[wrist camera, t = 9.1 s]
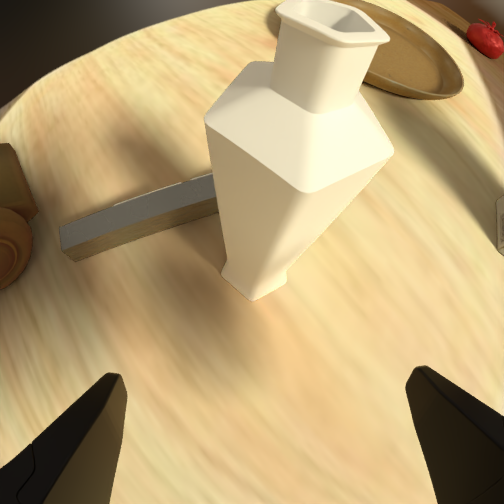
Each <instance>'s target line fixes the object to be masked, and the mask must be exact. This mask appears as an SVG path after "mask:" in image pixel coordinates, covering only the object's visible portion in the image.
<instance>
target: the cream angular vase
mask: <svg viewBox="0 0 504 504" xmlns="http://www.w3.org/2000/svg"><path fill="white" fill-rule="evenodd" d="M275 12H276V13H277V15H278V16H279V17H280V18H281V25H280V31H279V36H278V42H277V47H276V53H275V58H274V62H262V61H254V62H251V63H249V64H248V65H247V66H246V67H245V68H244V69H243V70H242V71H241V73H240V74H239V75H238V76H237V77H236V78H235V79H234V81H233V82H232V83H231V84H230V85H229V86H228V88H227V89H226V90H225V91H224V92H223V93H222V95H221V96H220V97H219V98H218V99H217V101H216V102H215V103H214V104H213V106H212V107H211V108H210V109H209V110H208V112H207V113H206V115H205V117H204V122H205V128H206V135H207V141H208V148H209V154H210V161H211V167H212V173H213V179H214V185H215V191H216V197H217V203H218V209H219V215H220V221H221V226H222V232H223V238H224V243H225V249H226V255H227V261H226V263H225V265H224V267H223V269H222V271H221V275H222V277H223V278H224V279H225V280H226V281H228V282H229V283H230V284H231V285H232V286H233V287H234V288H236V289H237V290H238V291H239V292H240V293H241V294H242V295H244V296H245V297H246V298H247V299H248V300H250V301H256V300H258V299H259V298H261V297H263V296H264V295H266V294H268V293H270V292H271V291H273V290H275V289H277V288H278V287H280V286H282V285H283V284H285V283H286V281H287V277H286V270H287V269H288V268H289V267H290V266H291V265H292V264H293V263H294V262H295V261H296V260H297V259H298V258H299V257H300V256H301V255H302V254H303V253H304V252H305V251H306V249H307V248H308V247H309V246H310V245H311V244H312V243H313V242H314V241H315V240H316V239H317V238H318V237H319V236H320V235H321V234H322V233H323V231H324V230H325V229H326V228H327V227H328V226H329V225H330V224H331V223H332V222H333V221H334V220H335V219H336V217H337V216H338V215H339V214H340V213H341V212H342V211H343V210H344V209H345V208H346V207H347V206H348V204H349V203H350V202H351V201H352V200H353V199H354V198H355V197H356V196H357V195H358V193H359V192H360V191H361V190H362V189H363V188H364V187H365V186H366V185H367V183H368V182H369V181H370V180H371V179H372V178H373V177H374V176H375V174H376V173H377V172H378V171H379V170H380V169H381V168H382V167H383V165H384V164H385V163H386V162H387V161H388V160H389V159H390V157H391V156H392V155H393V154H394V148H393V146H392V144H391V142H390V140H389V138H388V137H387V135H386V133H385V132H384V130H383V128H382V126H381V125H380V123H379V121H378V120H377V118H376V116H375V115H374V113H373V112H372V110H371V108H370V107H369V105H368V104H367V102H366V101H365V99H364V98H363V96H362V95H361V93H360V92H359V88H360V86H361V84H362V81H363V79H364V77H365V75H366V72H367V70H368V68H369V66H370V63H371V61H372V59H373V57H374V54H375V52H376V50H377V47H378V45H381V44H384V43H387V42H389V41H390V37H389V35H388V34H387V33H386V32H385V31H384V30H383V29H382V28H381V27H380V26H379V25H377V24H376V23H375V22H374V21H373V20H372V19H371V18H370V17H369V16H368V15H366V14H365V13H364V12H363V11H361V10H359V9H357V8H355V7H352V6H349V5H346V4H342V3H338V2H334V1H330V0H285V1H284V2H283V3H281V4H280V5H279V6H277V7H276V9H275Z"/></svg>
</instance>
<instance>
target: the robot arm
mask: <svg viewBox="0 0 504 504" xmlns="http://www.w3.org/2000/svg"><path fill="white" fill-rule="evenodd" d="M405 389H406V394H407V398H408V402H409V406H410V410H411V414H412V419H413V423H414V427H415V430H416V433H417V436H418V439H419V442H420V445H421V448H422V451H423V454H424V458H425V461H426V464H427V467H428V471H429V474H430V477H431V481H432V484H433V488H434V492H435V495H436V499H437V503H438V504H504V416H502V415H501V414H499V413H498V412H496V411H495V410H493V409H492V408H490V407H489V406H487V405H486V404H484V403H483V402H481V401H480V400H478V399H477V398H475V397H474V396H472V395H471V394H469V393H468V392H466V391H465V390H463V389H461V388H460V387H458V386H457V385H455V384H454V383H452V382H451V381H449V380H448V379H446V378H445V377H443V376H442V375H440V374H439V373H437V372H436V371H434V370H433V369H431V368H430V367H428V366H425V365H424V366H418V367H415V368H414V370H413V371H412V373H411V375H410V377H409V379H408V381H407V383H406V387H405ZM126 404H127V391H126V388H125V385H124V382H123V379H122V376H121V375H120V374H117V373H110V372H108V373H106V374H105V375H104V376H103V377H101V378H100V379H99V380H98V381H97V382H96V383H95V384H94V385H93V386H92V387H91V388H89V389H88V390H87V391H86V392H85V393H84V394H83V395H82V396H81V397H80V398H79V399H78V400H76V401H75V402H74V403H73V404H72V405H71V406H70V407H69V408H68V409H67V410H66V411H65V412H63V413H62V414H61V415H60V416H59V417H58V418H57V419H56V420H55V421H54V422H53V423H52V424H51V425H49V426H48V427H47V428H46V429H45V430H44V431H43V432H42V433H41V434H40V435H39V436H38V437H37V438H35V439H34V440H33V441H32V444H29V445H28V446H27V447H26V448H25V449H24V450H23V451H21V452H20V453H19V454H18V455H17V456H16V457H15V458H13V459H12V460H11V461H10V462H8V463H7V464H6V465H5V466H3V467H2V468H1V469H0V504H109V503H110V497H111V492H112V487H113V482H114V477H115V472H116V467H117V463H118V458H119V454H120V449H121V444H122V438H123V429H124V420H125V412H126Z"/></svg>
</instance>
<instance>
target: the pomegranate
mask: <svg viewBox="0 0 504 504" xmlns="http://www.w3.org/2000/svg"><path fill="white" fill-rule="evenodd" d="M481 21H482V20H481ZM482 22H484V21H482ZM485 22H486V21H485ZM485 22H484V23H485ZM486 23H487V24H488V25H487V24H486V25H482V24H479V23H474V24H471V25H470V26H469V28H468V30H467V38H468V40H469V41H470V42H471V44H473V45H474V46H475V47H476V48H477V49H478V50H479V51H480V52H481V53H483V54H484V55H486V56H487V57H489V58H491V59H497V58H498V57H499V56H500V55H501V54H502V53H503V52H504V47H503V41H502V40H501V38H500V37H499V33H498V31H497V30H494V27H495V26H496V23H495V22H493V23H492V26H490V24H489V23H488V22H486ZM495 31H497V32H495ZM500 35H501V34H500Z"/></svg>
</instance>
